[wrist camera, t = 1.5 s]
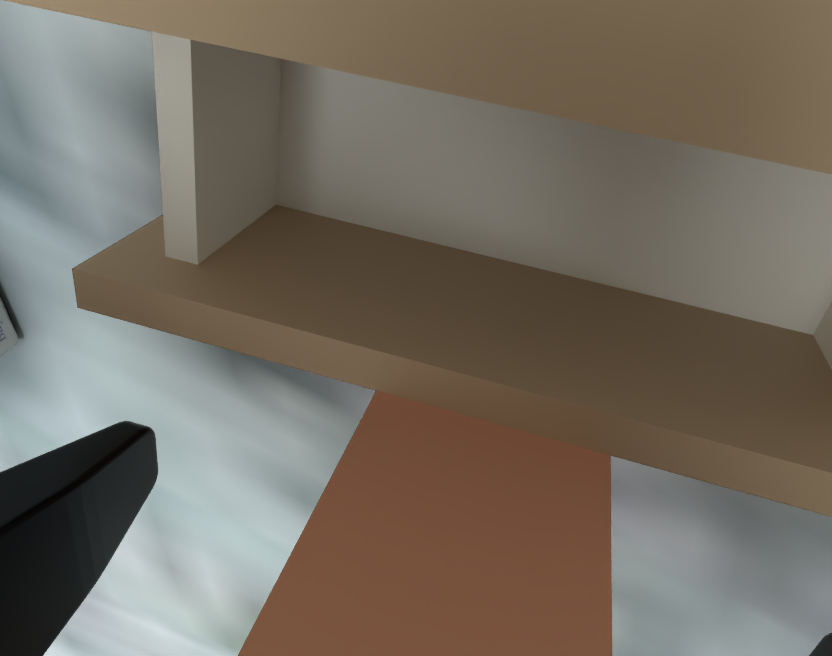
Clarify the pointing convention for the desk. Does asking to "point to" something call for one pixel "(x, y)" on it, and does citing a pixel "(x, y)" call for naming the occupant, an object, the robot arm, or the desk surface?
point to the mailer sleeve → (555, 58)
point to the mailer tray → (481, 335)
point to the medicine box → (6, 331)
